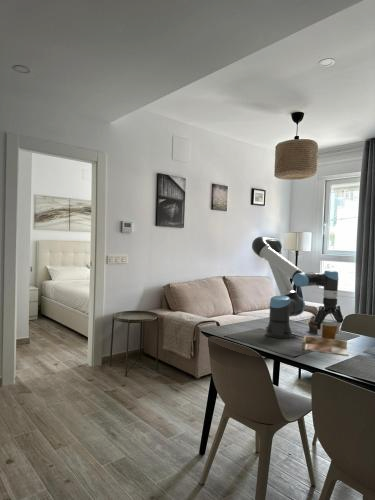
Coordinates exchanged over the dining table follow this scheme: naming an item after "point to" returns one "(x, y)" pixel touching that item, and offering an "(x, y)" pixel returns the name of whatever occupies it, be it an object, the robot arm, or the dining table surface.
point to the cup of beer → (329, 329)
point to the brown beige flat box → (325, 345)
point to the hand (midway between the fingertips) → (328, 334)
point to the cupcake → (313, 325)
